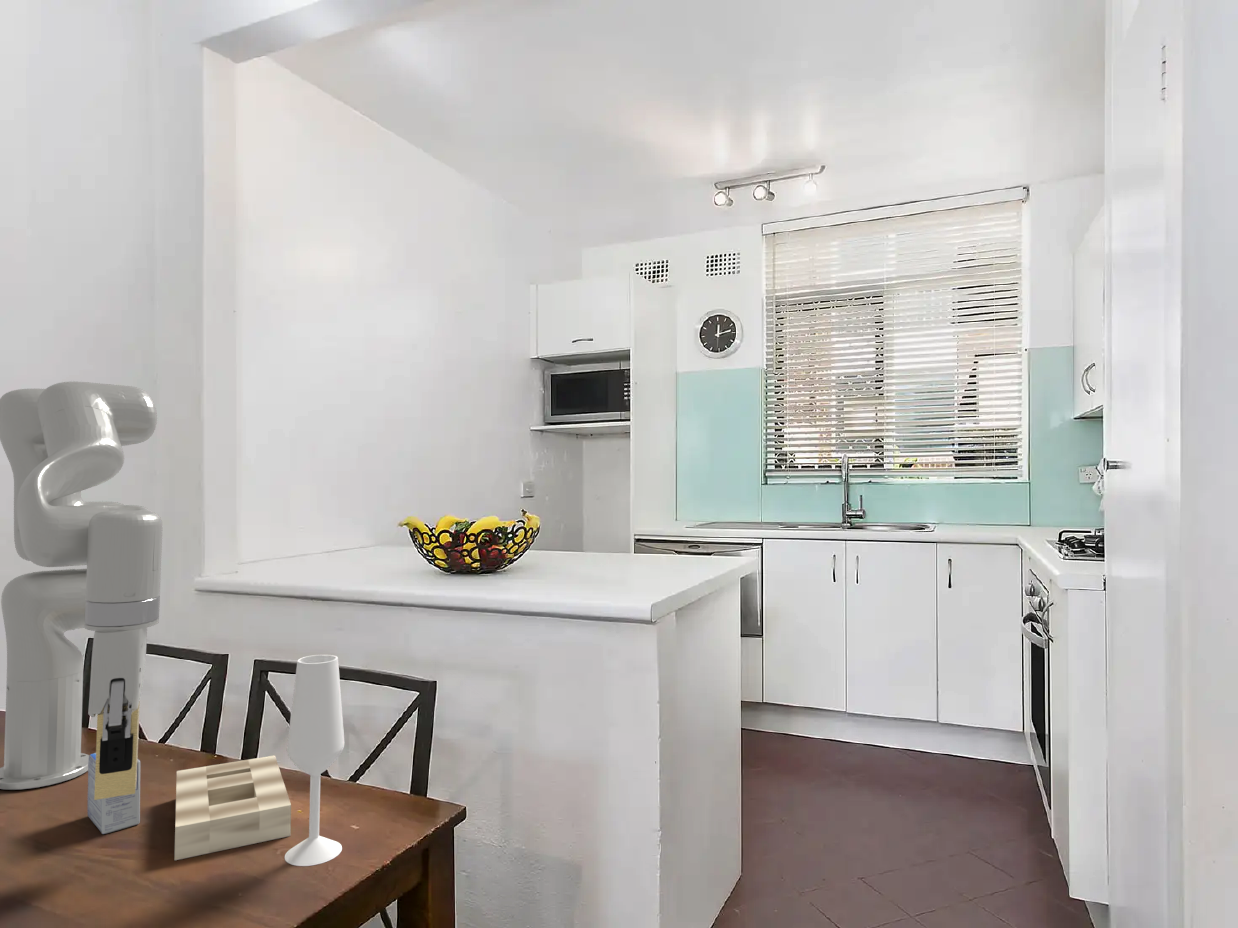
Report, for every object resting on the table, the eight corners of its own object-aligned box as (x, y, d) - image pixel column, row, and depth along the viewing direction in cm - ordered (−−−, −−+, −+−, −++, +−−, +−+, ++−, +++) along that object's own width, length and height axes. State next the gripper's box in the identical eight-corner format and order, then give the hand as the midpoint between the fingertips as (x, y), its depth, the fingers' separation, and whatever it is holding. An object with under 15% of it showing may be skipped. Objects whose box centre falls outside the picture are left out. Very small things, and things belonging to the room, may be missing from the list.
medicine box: (140, 824, 100) (142, 759, 100) (100, 836, 96) (102, 768, 97) (124, 806, 105) (125, 744, 105) (86, 816, 102) (87, 753, 102)
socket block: (175, 798, 108) (176, 770, 108) (274, 781, 114) (274, 755, 114) (174, 860, 90) (175, 827, 90) (290, 835, 97) (291, 804, 97)
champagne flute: (272, 862, 90) (276, 663, 91) (307, 836, 97) (311, 651, 97) (320, 869, 89) (325, 667, 89) (353, 842, 95) (357, 654, 96)
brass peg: (97, 786, 91) (100, 704, 91) (136, 780, 93) (139, 700, 93) (94, 799, 87) (97, 714, 87) (134, 793, 89) (138, 710, 89)
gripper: (92, 602, 95) (87, 745, 95) (76, 629, 81) (69, 797, 81) (161, 598, 99) (156, 736, 99) (157, 624, 85) (151, 785, 85)
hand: (117, 762), depth 90 cm, fingers closed on brass peg, 4 cm apart
